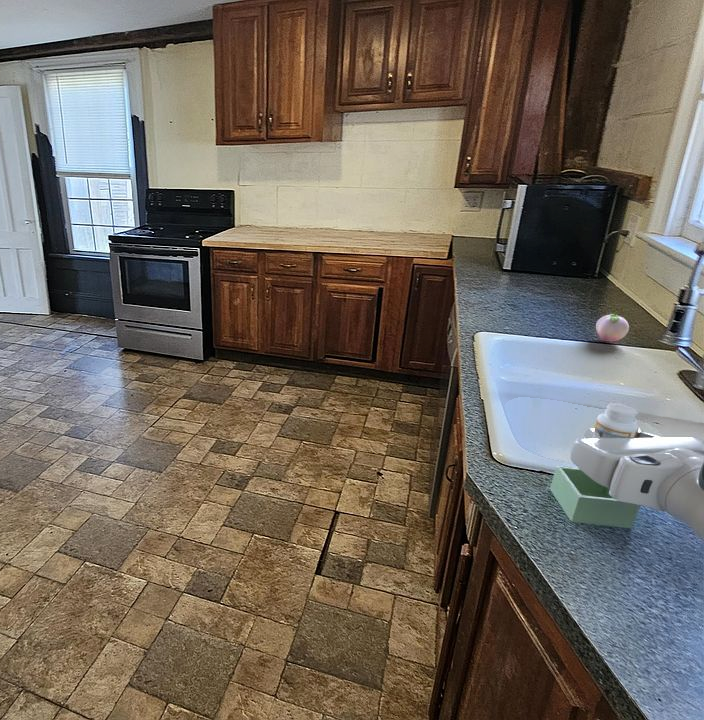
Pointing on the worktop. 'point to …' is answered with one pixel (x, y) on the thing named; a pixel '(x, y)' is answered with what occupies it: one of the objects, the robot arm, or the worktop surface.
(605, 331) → the decorative fruit
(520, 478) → the worktop surface
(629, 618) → the worktop surface
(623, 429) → the supplement bottle
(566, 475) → the bin
